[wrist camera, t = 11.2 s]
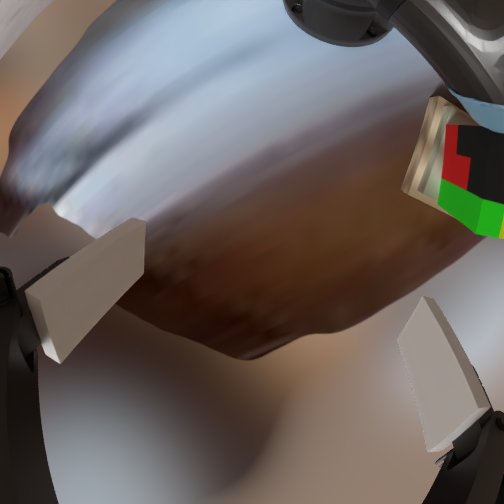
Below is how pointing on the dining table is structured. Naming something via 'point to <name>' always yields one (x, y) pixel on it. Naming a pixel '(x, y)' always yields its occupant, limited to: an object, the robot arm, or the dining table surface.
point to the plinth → (425, 149)
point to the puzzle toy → (474, 178)
